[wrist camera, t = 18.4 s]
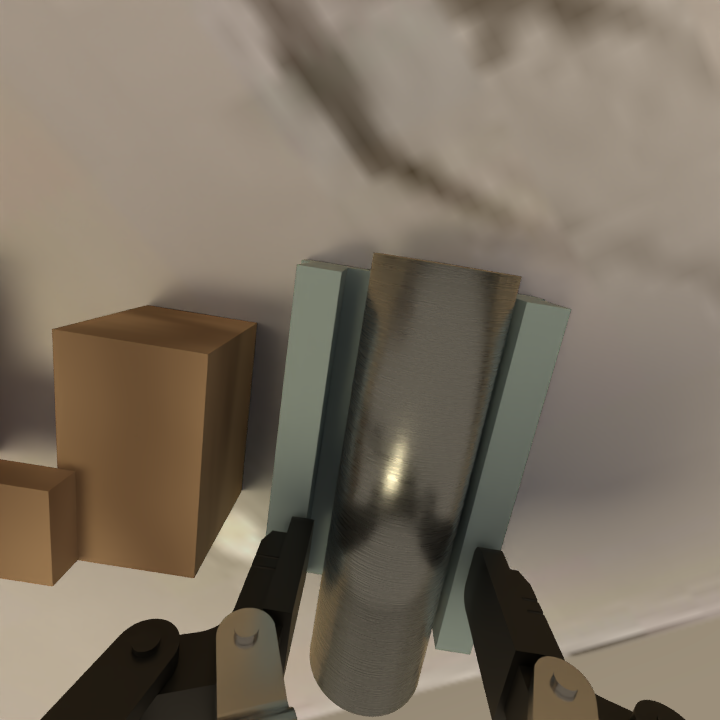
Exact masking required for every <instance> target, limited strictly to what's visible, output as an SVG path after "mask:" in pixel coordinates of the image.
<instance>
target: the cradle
mask: <svg viewBox="0 0 720 720" xmlns="http://www.w3.org/2000/svg"><path fill="white" fill-rule="evenodd" d="M370 272H371V270H369V269H362V268H356V267H350V266H344V265H338V264H332V263H326V262H319V261H313V260H307V259H306V260H302V262H301V264H298V265H297V269H296V278H295V287H294V295H293V304H292V313H291V321H290V330H289V339H288V348H287V356H286V365H285V374H284V383H283V391H282V400H281V409H280V417H279V426H278V435H277V444H276V452H275V461H274V470H273V478H272V487H271V496H270V505H269V513H268V522H267V531H266V536H267V535H268V534H269V533H270V532H271V531H272V530H274V531H280V532H286V533H287V531H288V528H289V524H290V521H291V518H292V516H295V517H301V518H307V519H313V520H315V521H314V529H313V535H312V542H311V549H310V555H309V562H308V568H307V572H308V573H315V574H321V575H322V571H323V565H324V559H325V553H326V547H327V540H328V534H329V528H330V522H331V515H332V509H333V503H334V497H335V490H336V484H337V478H338V472H339V465H340V459H341V453H342V447H343V440H344V434H345V428H346V422H347V416H348V409H349V403H350V397H351V391H352V384H353V378H354V372H355V366H356V359H357V353H358V347H359V341H360V334H361V328H362V322H363V316H364V309H365V303H366V297H367V291H368V285H369V278H370ZM570 312H571V309H568V308H565V307H562V306H559V305H556V304H552V303H549V302H546V301H545V300H544V299H541V298H537V297H534V296H528V295H522V294H517V297H516V301H515V305H514V309H513V313H512V317H511V321H510V324H509V328H508V332H507V336H506V340H505V344H504V348H503V352H502V356H501V360H500V364H499V368H498V371H497V375H496V379H495V383H494V387H493V391H492V395H491V399H490V403H489V407H488V411H487V415H486V418H485V422H484V426H483V430H482V434H481V438H480V442H479V446H478V450H477V454H476V458H475V462H474V465H473V469H472V473H471V477H470V481H469V485H468V489H467V493H466V497H465V501H464V505H463V509H462V512H461V516H460V520H459V524H458V528H457V532H456V536H455V540H454V544H453V548H452V552H451V556H450V559H449V563H448V567H447V571H446V575H445V579H444V583H443V587H442V591H441V595H440V599H439V603H438V606H437V610H436V614H435V618H434V622H433V626H432V630H433V636H434V643H435V649H438V650H444V651H450V652H457V653H463V654H470V653H471V650H472V646H473V639H472V635H471V631H470V627H469V623H468V619H467V615H466V611H465V605H464V589H465V584H466V580H467V577H468V573H469V569H470V566H471V562H472V558H473V555H474V551H475V549H476V548H477V547H482V548H488V549H495V550H500V551H501V547H502V544H503V541H504V537H505V534H506V530H507V527H508V523H509V520H510V517H511V513H512V510H513V506H514V503H515V500H516V496H517V493H518V489H519V486H520V483H521V479H522V476H523V472H524V469H525V466H526V462H527V459H528V455H529V452H530V448H531V445H532V442H533V438H534V435H535V431H536V428H537V425H538V421H539V418H540V414H541V411H542V408H543V404H544V401H545V397H546V394H547V390H548V387H549V384H550V380H551V377H552V373H553V370H554V367H555V363H556V360H557V356H558V353H559V350H560V346H561V343H562V339H563V336H564V333H565V329H566V326H567V322H568V319H569V315H570Z"/></svg>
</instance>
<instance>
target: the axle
mask: <svg viewBox="0 0 720 720" xmlns="http://www.w3.org/2000/svg"><path fill="white" fill-rule="evenodd" d="M520 281H521V277H520V276H515V275H510V274H504V273H499V272H493V271H487V270H481V269H475V268H469V267H463V266H457V265H451V264H445V263H439V262H433V261H427V260H421V259H414V258H408V257H402V256H395V255H389V254H382V253H373V260H372V266H371V272H370V278H369V285H368V291H367V297H366V303H365V309H364V316H363V322H362V328H361V334H360V341H359V347H358V353H357V359H356V366H355V372H354V378H353V384H352V391H351V397H350V403H349V409H348V416H347V422H346V428H345V434H344V440H343V447H342V453H341V459H340V465H339V472H338V478H337V484H336V490H335V497H334V503H333V509H332V515H331V522H330V528H329V534H328V540H327V547H326V553H325V559H324V565H323V571H322V578H321V584H320V590H319V596H318V603H317V609H316V615H315V621H314V628H313V634H312V640H311V646H310V664H311V669H312V672H313V675H314V678H315V680H316V682H317V684H318V685H319V687H320V688H321V690H322V691H323V693H324V694H325V695H326V696H327V697H328V698H329V699H330V700H331V701H332V702H333V703H335V704H336V705H338V706H339V707H341V708H342V709H344V710H346V711H348V712H351V713H354V714H357V715H362V716H382V715H386V714H390V713H392V712H394V711H396V710H398V709H399V708H401V707H402V706H404V705H405V704H406V703H407V702H408V701H409V699H410V698H411V697H412V695H413V694H414V692H415V690H416V687H417V685H418V681H419V677H420V673H421V669H422V665H423V661H424V657H425V653H426V650H427V646H428V642H429V638H430V634H431V630H432V626H433V622H434V618H435V614H436V610H437V606H438V603H439V599H440V595H441V591H442V587H443V583H444V579H445V575H446V571H447V567H448V563H449V559H450V556H451V552H452V548H453V544H454V540H455V536H456V532H457V528H458V524H459V520H460V516H461V512H462V509H463V505H464V501H465V497H466V493H467V489H468V485H469V481H470V477H471V473H472V469H473V465H474V462H475V458H476V454H477V450H478V446H479V442H480V438H481V434H482V430H483V426H484V422H485V418H486V415H487V411H488V407H489V403H490V399H491V395H492V391H493V387H494V383H495V379H496V375H497V371H498V368H499V364H500V360H501V356H502V352H503V348H504V344H505V340H506V336H507V332H508V328H509V324H510V321H511V317H512V313H513V309H514V305H515V301H516V297H517V293H518V289H519V285H520Z"/></svg>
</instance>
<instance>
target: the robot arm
mask: <svg viewBox="0 0 720 720" xmlns="http://www.w3.org/2000/svg"><path fill="white" fill-rule="evenodd" d="M314 521H315V520H313V519H307V518H301V517H295V516H292V518H291V521H290V524H289V528H288V531H287V533H286V532H280V531H274V530H272V531H271V532H270V533H269V534H268V535H267V536H266V537H265V538H264V539H262V540H261V543H260V545H259V548H258V550H257V553H256V556H255V558H254V560H253V563H252V566H251V568H250V570H249V573H248V575H247V578H246V580H245V583H244V585H243V588H242V590H241V593H240V595H239V598H238V600H237V603H236V605H235V608H234V610H233V612H232V613H230V614H229V615H228V616H226V617H225V618H224V619H223V620H222V622H221V623H220V625H218V626H216V627H214V628H212V629H209V630H206V631H202V632H196V633H189V634H182V635H179V632H178V629H177V628H176V627H175V625H173V624H172V623H171V622H169V621H166V620H163V619H149V620H145V621H141V622H139V623H137V624H134V625H133V626H131V627H129V628H128V629H127V630H125V631H124V632H123V633H122V634H121V635H120V636H119V637H118V638H117V639H116V640H115V641H114V642H113V643H112V644H111V645H110V646H109V648H108V649H107V650H106V651H105V652H104V653H103V654H102V655H101V656H100V657H99V658H98V659H97V660H96V661H95V662H94V663H93V664H92V666H91V667H90V668H89V669H88V670H87V671H86V672H85V673H84V674H83V675H82V676H81V677H80V678H79V679H78V680H77V681H76V683H75V684H74V685H73V686H72V687H71V688H70V689H69V690H68V691H67V692H66V693H65V694H64V695H63V696H62V697H61V698H60V699H59V701H58V702H57V703H56V704H55V705H54V706H53V707H52V708H51V709H50V710H49V711H48V712H47V713H46V714H45V715H44V716H43V717H42V719H41V720H297V717H296V713H295V710H294V708H293V707H289V706H288V702H287V696H286V690H285V684H284V674H285V670H286V665H287V661H288V656H289V652H290V647H291V642H292V638H293V633H294V629H295V624H296V620H297V615H298V610H299V606H300V601H301V597H302V592H303V588H304V583H305V578H306V573H307V568H308V562H309V555H310V549H311V542H312V535H313V529H314ZM464 605H465V611H466V615H467V619H468V623H469V627H470V631H471V635H472V639H473V644H474V648H475V652H476V656H477V660H478V664H479V668H480V672H481V676H482V681H483V685H484V689H485V693H486V697H487V701H488V705H489V709H490V713H491V717H492V720H685V719H684V718H683V717H682V716H680V715H679V714H678V713H676V712H675V711H674V710H672V709H670V708H669V707H667V706H665V705H663V704H661V703H659V702H656V701H651V700H642V701H640V702H638V703H637V704H636V706H635V708H634V710H633V712H632V711H630V710H628V709H625V708H623V707H621V706H619V705H617V704H615V703H613V702H610V701H608V700H606V699H604V698H602V697H600V696H598V695H596V694H595V693H594V690H593V688H592V686H591V684H590V683H589V681H588V680H587V679H586V677H585V676H584V675H583V674H582V673H581V672H580V671H579V670H578V669H576V668H575V667H574V666H573V665H571V664H570V663H568V662H566V661H565V660H564V657H563V655H562V653H561V651H560V649H559V646H558V644H557V642H556V640H555V638H554V635H553V633H552V631H551V629H550V627H549V624H548V622H547V620H546V618H545V616H544V615H543V611H542V609H541V607H540V605H539V603H537V598H536V596H535V594H534V591H533V589H532V587H531V585H530V584H529V583H528V581H527V580H526V579H525V578H524V577H523V576H522V575H521V574H520V572H519V571H517V570H511V569H510V568H509V566H508V563H507V561H506V559H505V556H504V554H503V552H502V551H500V550H495V549H488V548H482V547H477V548H476V549H475V551H474V555H473V558H472V562H471V566H470V569H469V573H468V577H467V580H466V584H465V589H464Z"/></svg>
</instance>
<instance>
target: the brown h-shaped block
mask: <svg viewBox="0 0 720 720" xmlns="http://www.w3.org/2000/svg"><path fill="white" fill-rule="evenodd" d="M256 330H257V323H254V322H248V321H242V320H236V319H230V318H224V317H217V316H211V315H205V314H199V313H193V312H186V311H180V310H174V309H168V308H162V307H155V306H149V305H146V306H142V307H138V308H134V309H130V310H126V311H122V312H118V313H115V314H111V315H107V316H103V317H99V318H95V319H91V320H87V321H83V322H79V323H75V324H71V325H67V326H63V327H59V328H55V329H52V338H53V364H54V389H55V415H56V441H57V466H58V468H52V467H45V466H39V465H33V464H26V463H20V462H14V461H7V460H1V459H0V578H2V579H9V580H15V581H22V582H28V583H34V584H41V585H47V586H53V585H54V584H55V583H56V582H57V581H58V580H59V579H60V578H61V577H62V576H63V575H64V574H65V573H66V572H67V571H68V570H69V569H70V568H71V567H72V565H73V564H74V563H75V562H76V561H77V560H81V561H87V562H94V563H100V564H107V565H113V566H119V567H126V568H132V569H139V570H145V571H151V572H158V573H164V574H171V575H177V576H184V577H190V578H194V577H195V575H196V574H197V572H198V570H199V568H200V566H201V564H202V563H203V561H204V559H205V557H206V555H207V553H208V552H209V550H210V548H211V546H212V544H213V542H214V541H215V539H216V537H217V535H218V533H219V531H220V530H221V528H222V526H223V524H224V522H225V520H226V519H227V517H228V515H229V513H230V511H231V509H232V508H233V506H234V504H235V502H236V500H237V498H238V497H239V495H240V493H241V490H242V480H243V469H244V458H245V447H246V437H247V426H248V415H249V405H250V394H251V383H252V372H253V362H254V351H255V340H256Z"/></svg>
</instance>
